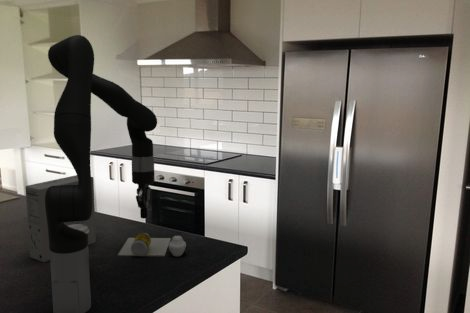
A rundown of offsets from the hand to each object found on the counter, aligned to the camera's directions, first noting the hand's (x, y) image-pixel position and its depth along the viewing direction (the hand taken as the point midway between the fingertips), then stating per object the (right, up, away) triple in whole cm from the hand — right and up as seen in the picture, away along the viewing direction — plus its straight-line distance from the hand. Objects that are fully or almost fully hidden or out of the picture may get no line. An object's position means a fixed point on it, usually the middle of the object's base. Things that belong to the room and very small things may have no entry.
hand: (144, 217), depth 144 cm
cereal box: (-29, -12, +3) cm, 31 cm away
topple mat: (-1, -12, +6) cm, 13 cm away
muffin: (+12, -13, 0) cm, 18 cm away
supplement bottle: (-1, -10, -4) cm, 11 cm away
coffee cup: (-17, -15, -16) cm, 28 cm away
